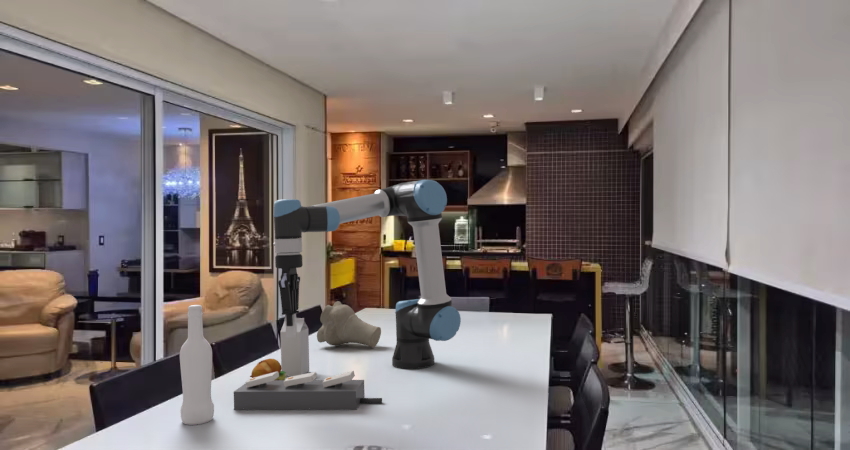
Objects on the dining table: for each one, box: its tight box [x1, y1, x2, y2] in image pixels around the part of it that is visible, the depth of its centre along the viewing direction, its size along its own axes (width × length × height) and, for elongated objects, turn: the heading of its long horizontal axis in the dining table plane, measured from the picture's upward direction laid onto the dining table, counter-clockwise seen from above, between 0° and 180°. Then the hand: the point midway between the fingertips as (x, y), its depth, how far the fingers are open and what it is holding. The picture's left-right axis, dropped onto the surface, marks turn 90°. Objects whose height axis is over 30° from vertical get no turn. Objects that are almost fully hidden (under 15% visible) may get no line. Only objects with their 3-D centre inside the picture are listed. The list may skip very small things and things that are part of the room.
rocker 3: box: [322, 370, 356, 387], centre depth 166 cm, size 8×5×2 cm, turn 85°
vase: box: [316, 300, 382, 349], centre depth 245 cm, size 22×22×28 cm
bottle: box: [179, 304, 215, 426], centre depth 154 cm, size 8×8×30 cm
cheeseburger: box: [249, 358, 287, 380], centre depth 185 cm, size 10×11×10 cm
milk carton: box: [280, 317, 310, 377], centre depth 202 cm, size 7×7×19 cm
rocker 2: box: [284, 371, 318, 387], centre depth 167 cm, size 8×5×2 cm, turn 85°
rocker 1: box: [244, 371, 279, 388], centre depth 168 cm, size 8×5×2 cm, turn 85°
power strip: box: [233, 379, 383, 411], centre depth 167 cm, size 40×12×6 cm, turn 85°
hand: (291, 336), depth 168 cm, fingers closed
